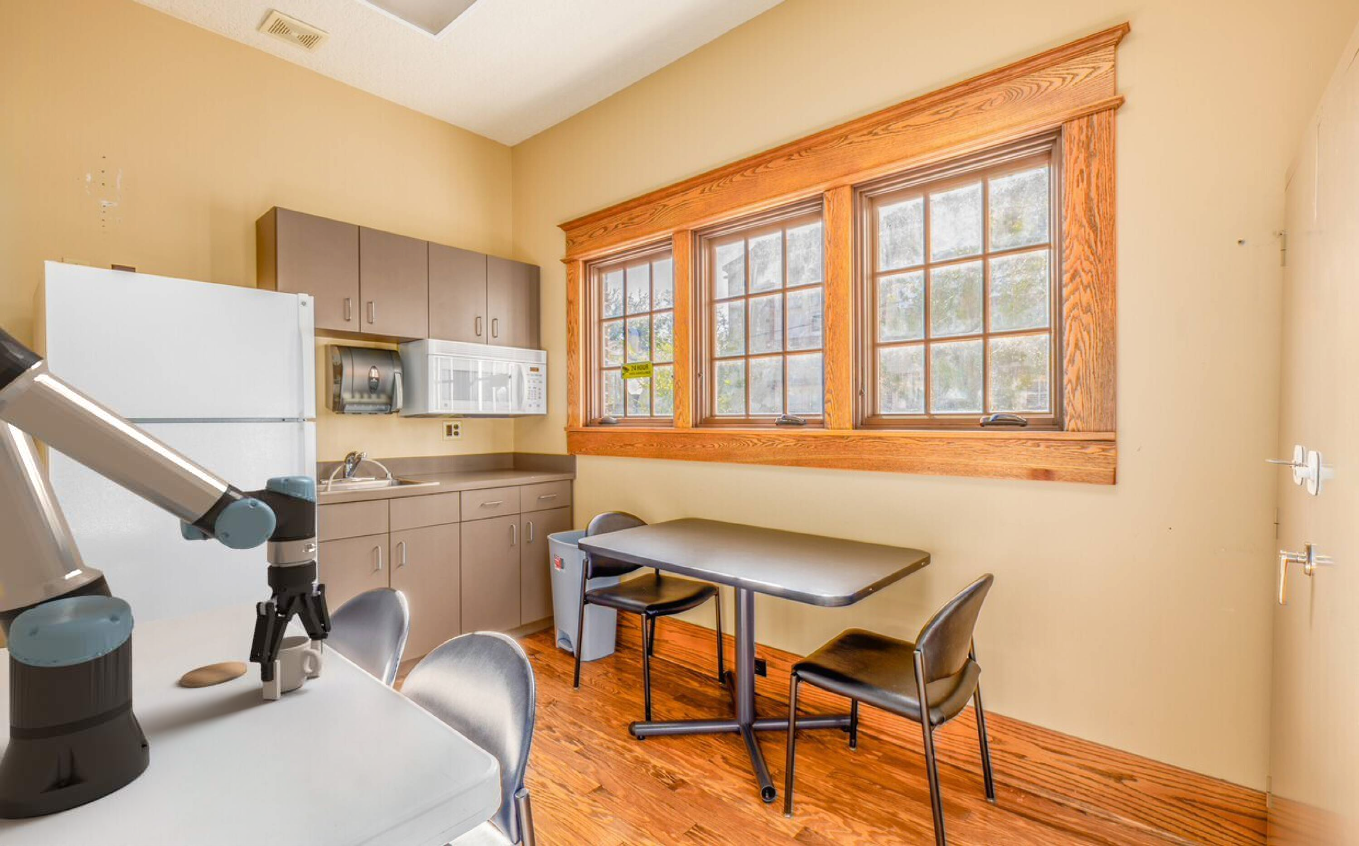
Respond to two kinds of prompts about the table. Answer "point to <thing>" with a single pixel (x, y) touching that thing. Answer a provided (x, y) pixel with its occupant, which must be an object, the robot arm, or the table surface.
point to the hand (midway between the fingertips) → (293, 685)
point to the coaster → (213, 674)
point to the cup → (296, 662)
